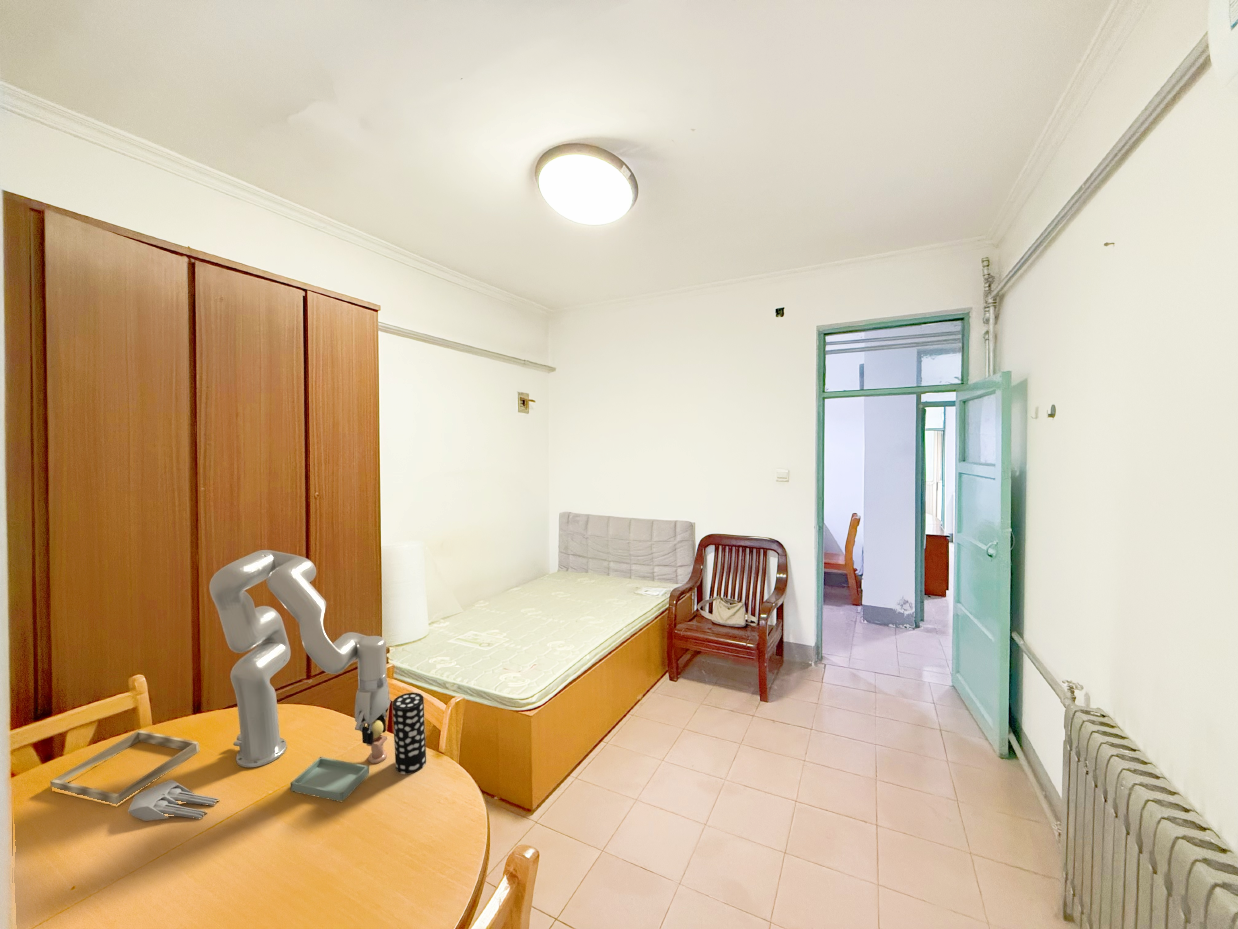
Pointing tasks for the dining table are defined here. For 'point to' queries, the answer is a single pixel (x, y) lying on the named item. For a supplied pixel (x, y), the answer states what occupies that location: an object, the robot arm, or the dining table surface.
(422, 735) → the white-spotted black cylinder
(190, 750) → the frame
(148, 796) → the turret
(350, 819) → the dining table surface
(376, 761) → the egg cup
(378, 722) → the ball
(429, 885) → the dining table surface
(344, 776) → the tray
